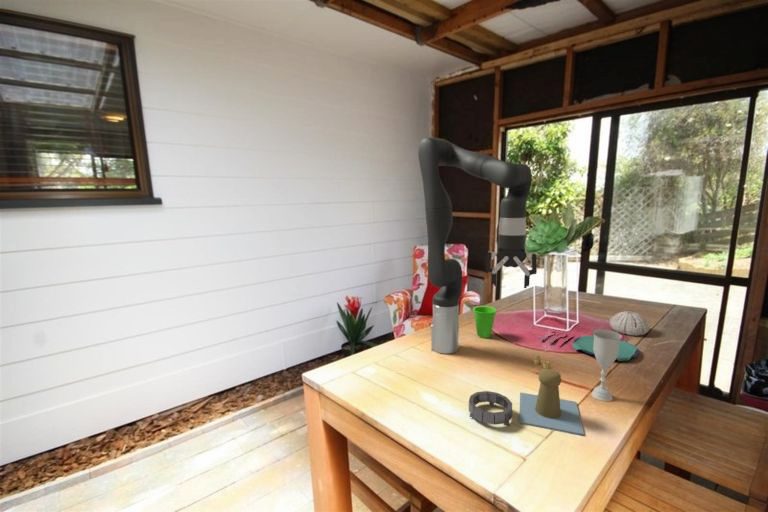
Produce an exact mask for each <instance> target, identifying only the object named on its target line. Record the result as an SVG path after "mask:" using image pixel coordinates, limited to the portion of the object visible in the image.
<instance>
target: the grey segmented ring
mask: <svg viewBox="0 0 768 512" xmlns="http://www.w3.org/2000/svg"><path fill="white" fill-rule="evenodd" d="M480 403H488V404H489V405H488V406H489V407H495V404H497V405H498V406H500V407H502V408H503V409H504V410H502V411H496V412H492V411H487V410H483V409H481V408H480V407H477V405H478V404H480ZM468 411H469V418H470V417H472V418H471V419H473V418H475V419H476V420H477V421H480V422H481V423H485V424H488V425H504V426H508V427H509V426H510V420H512V418H513V417H512V416H513V403H512V401H511V399H509V398H508V397H507V396H505V395H503V394H501V393H499V392H494V391H490V390H489V391H487V390H483V391H476V392H474V393H472V394H471V395H470V396H469V400H468Z"/></svg>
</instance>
